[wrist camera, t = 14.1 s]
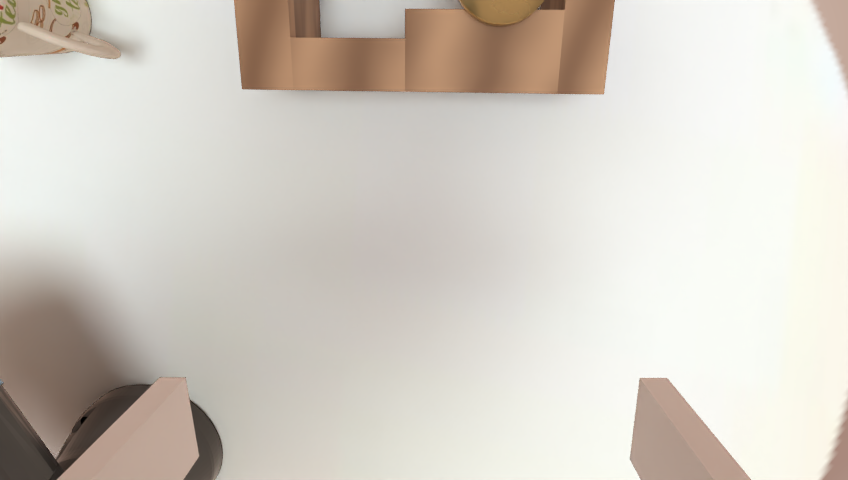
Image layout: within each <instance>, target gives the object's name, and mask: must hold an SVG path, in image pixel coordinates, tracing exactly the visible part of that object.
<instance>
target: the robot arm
mask: <svg viewBox="0 0 848 480" xmlns="http://www.w3.org/2000/svg"><path fill="white" fill-rule="evenodd" d="M2 384H3V381H2V380H1V379H0V480H215V479H216V477H217V475H218V473H219V471H220V467H221V463H222V447H221V443H220V439H219V436H218V434H217V432H216V430H215V428H214V426H213V424H212V423H211V422H210V420H209V419H208V418H207V416H206V415H205V414H204V413H203V412H202V411H201V410H200V409H199V408H198V407H197V406H195V405H194V404H193V403H192V402H190V400H189V394H188V388H187V383H186V377H160V378H159V379H158V380H157V381H156V382H155V383H154V384H153V385H152V386H148V385H132V386H125V387H121V388H118V389H115V390H113V391H110V392H108V393H107V394H105V395H104V396H102V397H101V398H100V399H99V400H98V401H96V402H95V403H94V404H93V405H92V406H91V407H90V408H88V409H87V410H86V411H85V412H84V413H83V414H82V416H81V417H80V418H79V419H78V421H77V422H76V424H75V426H74V428H73V430H72V432H71V434H70V435H69V437H68V439H67V440H66V442H65V444H64V445H63V447H62V449H61V451H60V453H59V454H58V456H57V458H56V459H55V458H54V457H53V455H52V454H51V453H50V451H49V450H48V448H47V447H46V446H45V444H44V443H43V441H42V440H41V439H40V437H39V436H38V435H37V433H36V432H35V430H34V429H33V428H32V426H31V425H30V423H29V422H28V421H27V419H26V418H25V416H24V415H23V414H22V412H21V411H20V410H19V408H18V407H17V405H16V404H15V403H14V401H13V400H12V398H11V397H10V396H9V394H8V393H7V392H6V390H5V389H4V387H3V386H2ZM630 460H631V462H632V464H633V466H634V468H635V470H636V471H637V473H638V475H639V477H640V479H641V480H751V479H750V478H749V477H748V475H747V474H746V473H745V472H744V470H743V469H742V468H741V467H740V466H739V464H738V463H737V462H736V461H735V460H734V458H733V457H732V456H731V455H730V454H729V452H728V451H727V450H726V449H725V447H724V446H723V445H722V444H721V443H720V441H719V440H718V439H717V438H716V437H715V435H714V434H713V433H712V432H711V431H710V429H709V428H708V427H707V426H706V425H705V423H704V422H703V421H702V420H701V418H700V417H699V416H698V415H697V414H696V412H695V411H694V410H693V409H692V408H691V406H690V405H689V404H688V403H687V402H686V400H685V399H684V398H683V397H682V396H681V394H680V393H679V392H678V391H677V389H676V388H675V387H674V386H673V385H672V383H671V382H670V381H669V380H668V379H667V378H640V380H639V388H638V396H637V404H636V413H635V421H634V429H633V437H632V445H631V454H630Z"/></svg>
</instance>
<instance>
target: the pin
mask: <svg viewBox="0 0 848 480" xmlns="http://www.w3.org/2000/svg"><path fill="white" fill-rule="evenodd" d="M459 2H460V4H461V5H462V7H463V8H464V10H465V11H466V12H467V13H468V14H469V15H470V16H471V17H472V18H474V19H475V20H477V21H479V22H480V23H483V24H485V25H489V26H493V27H506V26H510V25H514V24H517V23H519V22H521V21H523V20H524V19H526V18H527V17H529V16H530V15H531V14H532V13H533V12H534V11H535V10H536V9H537V8H538V7H539V6H540V5H541V4H542V3H543V2H544V0H459Z"/></svg>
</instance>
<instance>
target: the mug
mask: <svg viewBox="0 0 848 480" xmlns="http://www.w3.org/2000/svg"><path fill="white" fill-rule="evenodd" d="M90 29H91V14H90V10H89V7H88V4H87V2H86V0H0V57H12V56H27V55H43V54H58V53H68V52H72V51H76V52H79V53H83V54H87V55H91V56H96V57H100V58H107V59H117V58H119V57H120V56H121V53H120V51H119V50H118V49H117V48H115V47H114V46H113V45H111V44H110V43H108V42H106V41H104V40H101V39H98V38H95V37H92V36H90V35H89V33H90ZM85 42H86V43H85ZM87 43H88V44H87Z"/></svg>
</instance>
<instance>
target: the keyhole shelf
mask: <svg viewBox="0 0 848 480" xmlns="http://www.w3.org/2000/svg"><path fill="white" fill-rule="evenodd" d="M614 2H615V0H544V2H543V3H542V4H541V9H540V10H535V11H534V12H533V13H532V14H531V15H530V16H529V17H527V18H526V19H524V20H523V21H521V22H519V23H517V24H514V25H510V26H506V27H493V26H489V25H485V24H483V23H480V22H479V21H477V20H475V19H474V18H472V17H471V16H470V15H469V14H468V13H467V12H466V11H465V10H464V9H405V39H396V38H321V29H320V7H319V0H234V5H235V16H236V27H237V38H238V49H239V60H240V71H241V83H242V89H262V90H332V91H403V92H473V93H544V94H604V88H605V80H606V71H607V62H608V54H609V45H610V37H611V28H612V19H613V11H614Z"/></svg>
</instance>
